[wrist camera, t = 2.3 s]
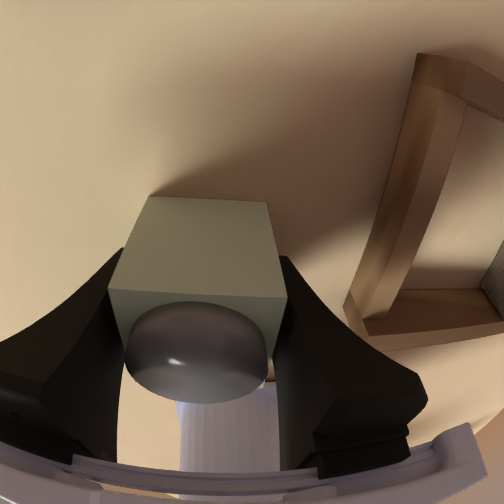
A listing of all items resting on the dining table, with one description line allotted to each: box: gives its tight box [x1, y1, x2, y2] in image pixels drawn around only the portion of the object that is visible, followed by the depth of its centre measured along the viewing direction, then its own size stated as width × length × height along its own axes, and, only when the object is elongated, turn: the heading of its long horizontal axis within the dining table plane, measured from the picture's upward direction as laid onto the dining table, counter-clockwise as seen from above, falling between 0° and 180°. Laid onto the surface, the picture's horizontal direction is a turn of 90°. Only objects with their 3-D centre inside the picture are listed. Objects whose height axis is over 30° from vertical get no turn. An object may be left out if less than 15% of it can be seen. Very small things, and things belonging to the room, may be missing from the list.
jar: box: [108, 196, 288, 404], centre depth 11 cm, size 4×4×6 cm
